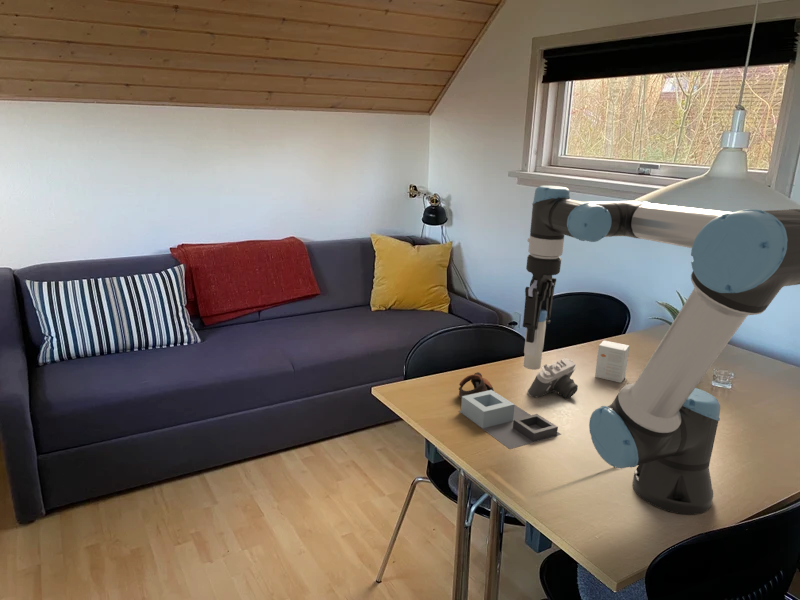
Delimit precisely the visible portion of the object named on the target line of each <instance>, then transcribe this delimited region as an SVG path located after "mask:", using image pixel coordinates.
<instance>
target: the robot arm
mask: <svg viewBox="0 0 800 600" xmlns="http://www.w3.org/2000/svg"><path fill="white" fill-rule="evenodd" d="M570 192H571V191H570V189H569V188H568V187H566V186H561V185H539V186H537V187H536V188H535V190H534V197H533V202H532V203H531V204H532V208H531V209H532V210H531V222H530V228H529V229H530V230H529V231H530V232H529V238H528V239H527V242H528V253H529V254H528V255H527V258H526V271H527V272H528V273H531V275H532V277H531V280H530V283H529V286H526V287H525V289H524V293H525V294H524V297H525V299H524V310H523V320H522V321H523V322H522V328H526V330H525V338H524V339H525V340H524V347H523V348H524V349H523V353H524V355H525V354H529V355H533V356H535V355H536V350H537V341H538V333H539V329H537V328H538V322H539V316H540V311H541V309H544V310H546V311H547V317H546V325H545V330H546V329H547V324H550V323H551V319H550V318H551V315H552V307H553V300H554V295H555V294H554V292H555V288H556V287H555V286H556V282H557V278H556V277H553V276H556V275H558V274H559V273H560V272H561V265H562V258H561V256H562V255H563V251H564V242H565V236H567V237H571V238H574V239H576V240H579V241H582V242H591V243H596V242H599V241H601V240H602V239H604V238H608V237H609V238H611V237H628V238H633V239H640V240H645V241H651V242H657V243H660V244H661V243H662V244H668V245H673V246H677V247H683V248H687V249H688V248H689V249H691V252H690V256H691V257H692V258H693V260H692V261H691V262H690V263H691V268H692V272H691V274H690V280H691V283H692V285H693V287H694V288H693V289H692V291H691V293H690V295H689V296H688V298H687V299H686V301H685V303H684V304H683V305H682V307H681V309H680V311H678V314H677V315H676V317H675V319H674V320H673V321H672V323H671V324H670V326H669V328H668V329H667V332H666V333H665V334H664V336H663V337H662V340H661V341H660V342H659V344H658V346H657V348H656V349H655V351H653V353H652V355H651V357H650V359H648V362H647V363H646V364H645V367H644V368H643V370H642V371H641V373H640V375H639V376H638V377H637V379H636V381H635V382H633V383H628V384H625V385H623V387H622V388H620V390H619V391H618V393H617V394H616V396H615V398H614V399H613V401H612V403H611V404H610V405H602V406H600V407H598V408H596V409H594V410H593V412H592V413H591V415H590V417H589V425H588V426H589V434H590V439H591V442H592V445H593V446H594V449H595V450H596V452H597V454H598V455H599V456H600V458H601V459H602V460H603V461H604V462H606V463H607V464H608V465H609V466H612V467H613V468H614V467H615V468H617V469H626V468H636V469H635V470H634V473H633V477H632V478H633V479H632V487H633V489H634V491H635V492H636V494H637V495H638V496H639V497H641V498H642V499H643V500H644V502H647V503H649V504H650V505H652V506H654V507H656V508H659V509H661V510H664V511H665V512H666V511H668V512H671V513H675V514H678V515H679V514H681V515H698V514H703V513H705V512H707V511H708V510H709V509H710V508H711V507H712V504H713V499H714V490H713V485H712V479H711V478H712V477H711V472H710V464H711V459H712V454H713V450H714V449H713V448H714V444H715V440H716V434H717V429H718V425H719V421H720V420H721V418H720V413H721V403H720V401H719V400H718V399H717V398H716V397H715V396H714V395H712V394H711V393H708V392H707V391H705V390H703V389H700V388H697V386H698V385H699V383H700V382H701V381H702V379H703V378H704V377H705V375H706V374H707V373H708V371H709V370H710V368H711V367H712V365H713V364H714V363H715V361H716V360H717V359H718V358H719V355H720V354H721V353H722V352H723V351H724V349H725V348H726V346H727V345H728V343H729V342H730V341H731V339H732V338H733V337H734V335H736V334H735V333H736V332H737V331H738V329H739V328H740V327H741V325H742V324H743V323H744V321H745V320H746V318H747V317H748V316H754V315H761V314H762V313H764V311H766V310H767V308H768V307H769V306H770V305H771V303H772V302H773V300H774V299H775V297H776V296H777V295H778V294H779V293H780V291H781V290H782V289H783V288H785V287H789V286H798V285H800V208H791V209H790V208H789V209H774V210H773V209H770V210H763V209H762V210H761V209H752V208H750V209H747V208H746V209H742V210H737V211H733V212H732V211H724V210H716V209H705V208H697V207H689V206H681V205H679V206H678V205H671V204H669V205H668V204H661V203H651V202H650V201H647V200H642V199H641V200H640V199H631V200H620V201H619V200H618V201H617V200H615V201H610V200H609V201H607V200H605V201H604V200H603V201H582V200H577V199H576V200H575V199H570V198H571V196H570ZM545 336H546V332H545V333H544V339H545ZM544 345H545V341H544V342H543V347H545V346H544Z"/></svg>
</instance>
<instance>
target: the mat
mask: <svg viewBox="0 0 800 600" xmlns="http://www.w3.org/2000/svg"><path fill="white" fill-rule="evenodd" d="M458 413H460V414H462V416H464V417H466V418H467V419H468V420H469V421H471V422H472V423H474V425H476V426H477V427H479V428H480V429H482V430H483V431H484V432H486V433H487V434H488V435H489V436H491V437H493V438H494V439H495V440H497V442H499V443H500V444H502V445H503V446H505V447H506V448H507V449H509V450H512V449H515V448H519V447H523V446H526V445H529V444H534V443H537V442H540V441H543V440H547V439H551V438H554V437H558V436H561V435H562V433H560V432H559V431H557V435H555V436H552V437H548V438H545V439H541V440H538V441H534V442H533V441H531V440H530V439H528V438H527V437H526V436H524V435H523V434H521V433H520V432H518V431H517V430H515V429H514V428H513V422H514V420H515V419H519V418H523V417H526V416H530V415H531V414H530V413H528V412H527V411H525V410H524V409H522V408H520V407H519V406H518V405H516V404H515V405H514V416H513V421H509V422H505V423H502V424H498V425H494V426H490V427H486V428H482V427H480V426H479V425H478V424H476V423H475V422H473V421H472V420H471V419H469V418H468V417H467V416H465V415H464V414H463V413H461V410H458ZM528 427H530V428H531V429H533V430H534V431H535V430H539V429H542V428H541V427H539V426H538V425H536V424H535V425H531V426H528Z"/></svg>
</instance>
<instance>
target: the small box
mask: <svg viewBox="0 0 800 600" xmlns="http://www.w3.org/2000/svg"><path fill="white" fill-rule="evenodd" d="M629 352H630V344H629V345H628V344H623V343H619V342H615V341H614V342H613V341H609V340H605V339H603V340H602V342H601V343H599V345H598V350H597V358H596V365H595V367H596V368H595V375H594V376H595V378H598V379H603V380H607V381H612V382H615V383H620V384H622V382H623V381H624V380H625V378H626V374H627V367H628V361H629V360H628V359H629Z"/></svg>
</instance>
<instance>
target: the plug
mask: <svg viewBox="0 0 800 600" xmlns="http://www.w3.org/2000/svg"><path fill="white" fill-rule="evenodd" d="M546 317H547V311H546V310H544V309H541V311H540V316H539V322H538V328H537V329H539V333H538V341H537V350H536V355H535V356H533V355H529V354H525V353H524V357H523V365H522V366H523V368H525V369H528V370H532V371H533V370H534V371H535V370H536V371H537V370H539V369H541V368H542V365H541V364H542V359H543V357H542V356H543V350H544V346H543V342H544V343H545V338H544V333H545V334H546V329H545V325H546V326H547V323H546Z"/></svg>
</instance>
